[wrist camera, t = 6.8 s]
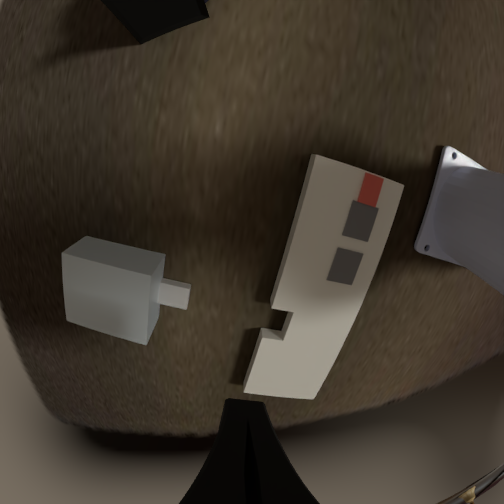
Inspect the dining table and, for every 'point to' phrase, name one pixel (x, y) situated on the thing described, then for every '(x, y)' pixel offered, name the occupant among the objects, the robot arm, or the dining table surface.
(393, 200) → the power strip
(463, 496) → the hand bell
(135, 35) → the speaker
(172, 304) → the charger
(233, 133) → the dining table surface
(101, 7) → the dining table surface
